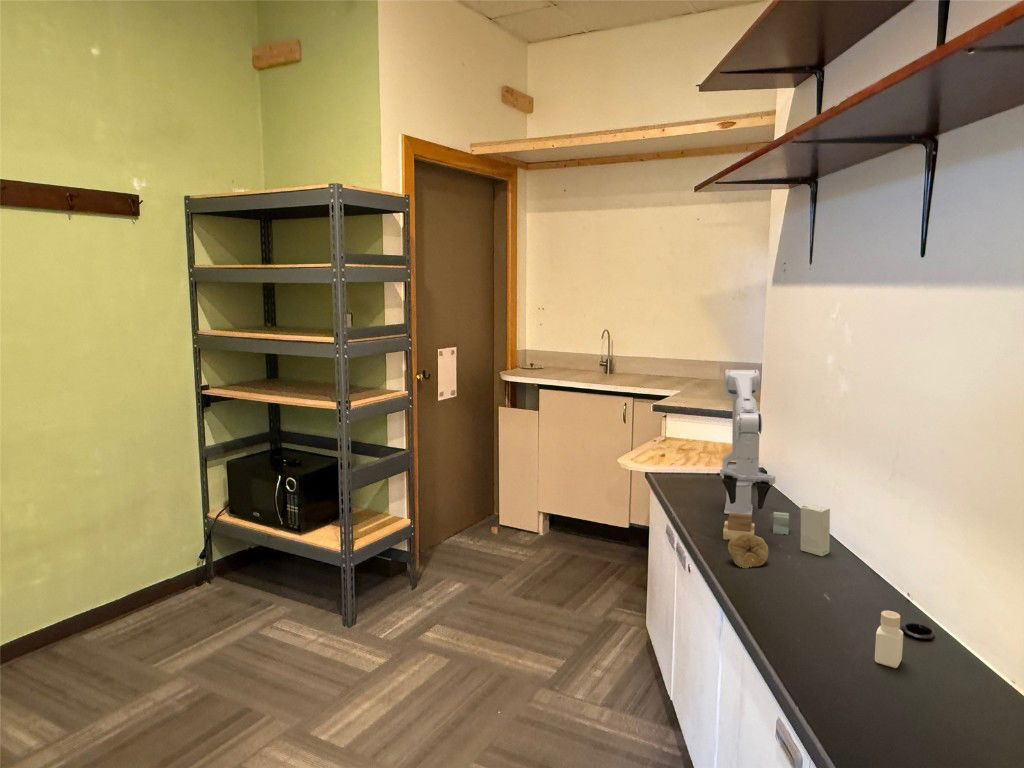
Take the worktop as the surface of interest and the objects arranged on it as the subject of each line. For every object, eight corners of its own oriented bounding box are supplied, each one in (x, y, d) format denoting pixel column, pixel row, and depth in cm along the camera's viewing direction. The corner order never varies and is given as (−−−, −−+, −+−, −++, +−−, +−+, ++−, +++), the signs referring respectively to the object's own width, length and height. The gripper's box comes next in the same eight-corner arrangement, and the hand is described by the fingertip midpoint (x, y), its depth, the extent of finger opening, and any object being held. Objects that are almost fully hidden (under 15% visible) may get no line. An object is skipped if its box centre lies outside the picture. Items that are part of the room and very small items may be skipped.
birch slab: (724, 530, 205) (725, 520, 204) (754, 533, 202) (754, 523, 201) (723, 540, 197) (723, 530, 197) (753, 543, 194) (753, 533, 194)
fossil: (722, 539, 181) (757, 527, 183) (719, 547, 185) (753, 535, 186) (740, 571, 176) (776, 558, 178) (736, 578, 179) (771, 565, 181)
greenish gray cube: (773, 528, 204) (773, 512, 203) (788, 530, 202) (788, 513, 202) (773, 533, 200) (773, 516, 199) (788, 535, 199) (789, 517, 198)
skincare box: (829, 552, 186) (831, 508, 184) (821, 557, 183) (823, 512, 181) (807, 546, 190) (809, 502, 188) (798, 550, 187) (800, 506, 186)
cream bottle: (878, 654, 137) (881, 607, 135) (902, 660, 134) (905, 613, 133) (873, 663, 134) (876, 615, 132) (897, 670, 131) (900, 621, 130)
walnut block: (729, 522, 203) (729, 512, 202) (751, 524, 200) (751, 514, 200) (727, 529, 197) (727, 519, 197) (750, 531, 195) (750, 521, 194)
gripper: (715, 456, 193) (714, 504, 195) (769, 464, 184) (767, 514, 186) (726, 450, 199) (725, 497, 201) (778, 458, 189) (777, 507, 191)
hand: (746, 505), depth 194 cm, fingers open, 7 cm apart
